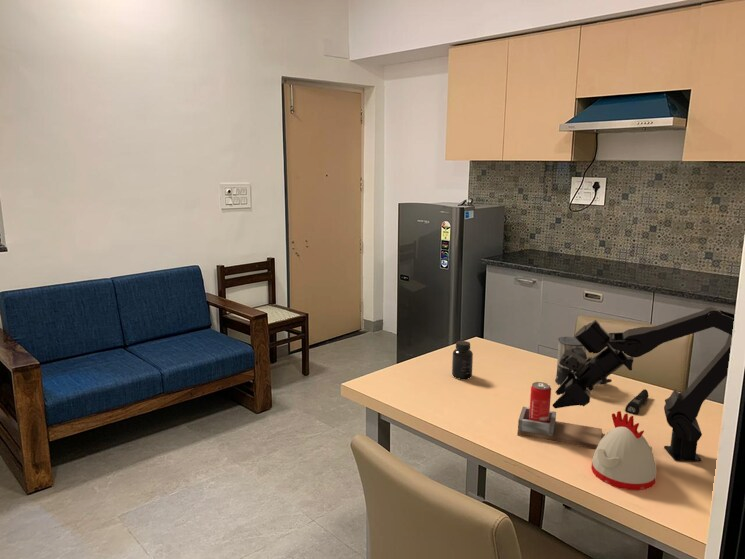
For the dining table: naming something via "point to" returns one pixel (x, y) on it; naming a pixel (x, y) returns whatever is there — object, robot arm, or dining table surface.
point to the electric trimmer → (637, 402)
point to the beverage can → (540, 402)
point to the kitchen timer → (624, 457)
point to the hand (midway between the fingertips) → (555, 400)
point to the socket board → (558, 431)
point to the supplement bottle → (462, 360)
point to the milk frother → (576, 348)
